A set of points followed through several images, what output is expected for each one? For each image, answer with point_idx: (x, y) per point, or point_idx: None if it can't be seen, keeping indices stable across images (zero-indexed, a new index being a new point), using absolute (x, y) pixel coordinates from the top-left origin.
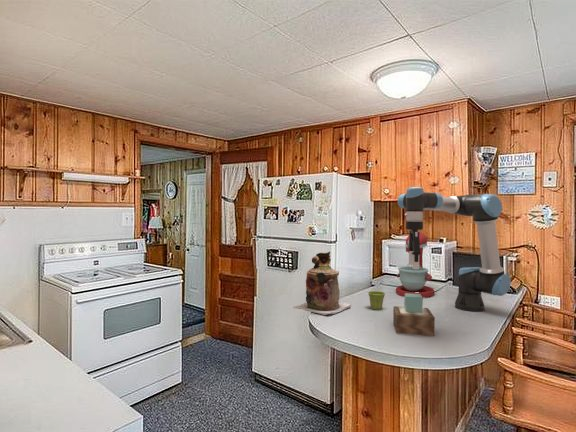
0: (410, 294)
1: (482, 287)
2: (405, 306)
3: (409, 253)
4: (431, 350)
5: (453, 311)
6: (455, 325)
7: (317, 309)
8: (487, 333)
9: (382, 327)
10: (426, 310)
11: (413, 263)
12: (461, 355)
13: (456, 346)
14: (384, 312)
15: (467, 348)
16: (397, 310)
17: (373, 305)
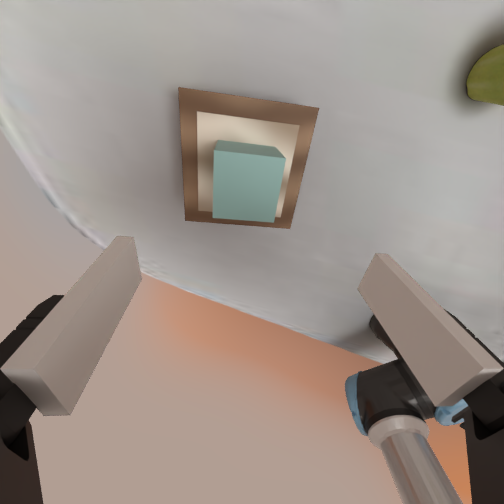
0: (262, 180)
1: (379, 374)
2: (242, 144)
3: (453, 343)
4: (71, 162)
5: None
6: (279, 264)
7: None
8: (233, 298)
9: (243, 44)
10: None
11: (89, 272)
12: (72, 220)
13: (130, 226)
14: (422, 99)
15: None
16: (251, 109)
17: (493, 53)
